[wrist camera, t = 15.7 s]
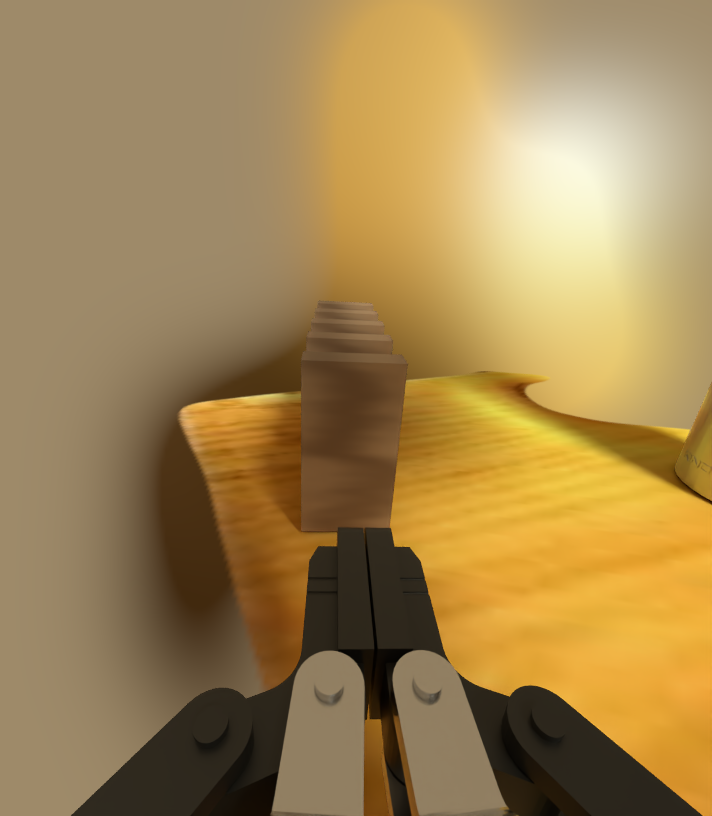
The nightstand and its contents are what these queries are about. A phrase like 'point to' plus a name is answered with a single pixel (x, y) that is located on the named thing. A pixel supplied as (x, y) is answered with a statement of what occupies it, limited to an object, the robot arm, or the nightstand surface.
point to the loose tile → (349, 438)
